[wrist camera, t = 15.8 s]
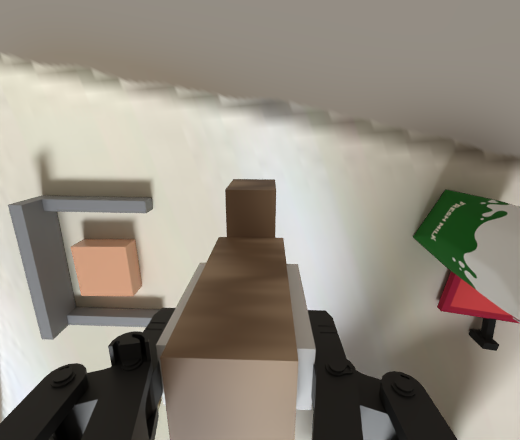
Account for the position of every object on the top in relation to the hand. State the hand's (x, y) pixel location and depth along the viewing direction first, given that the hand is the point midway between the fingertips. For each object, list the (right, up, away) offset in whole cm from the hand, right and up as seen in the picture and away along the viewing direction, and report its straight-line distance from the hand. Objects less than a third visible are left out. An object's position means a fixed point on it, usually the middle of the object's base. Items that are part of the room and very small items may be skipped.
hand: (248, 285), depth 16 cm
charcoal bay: (-20, -2, +23) cm, 30 cm away
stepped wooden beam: (0, +2, +6) cm, 6 cm away
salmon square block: (-19, -2, +23) cm, 30 cm away
